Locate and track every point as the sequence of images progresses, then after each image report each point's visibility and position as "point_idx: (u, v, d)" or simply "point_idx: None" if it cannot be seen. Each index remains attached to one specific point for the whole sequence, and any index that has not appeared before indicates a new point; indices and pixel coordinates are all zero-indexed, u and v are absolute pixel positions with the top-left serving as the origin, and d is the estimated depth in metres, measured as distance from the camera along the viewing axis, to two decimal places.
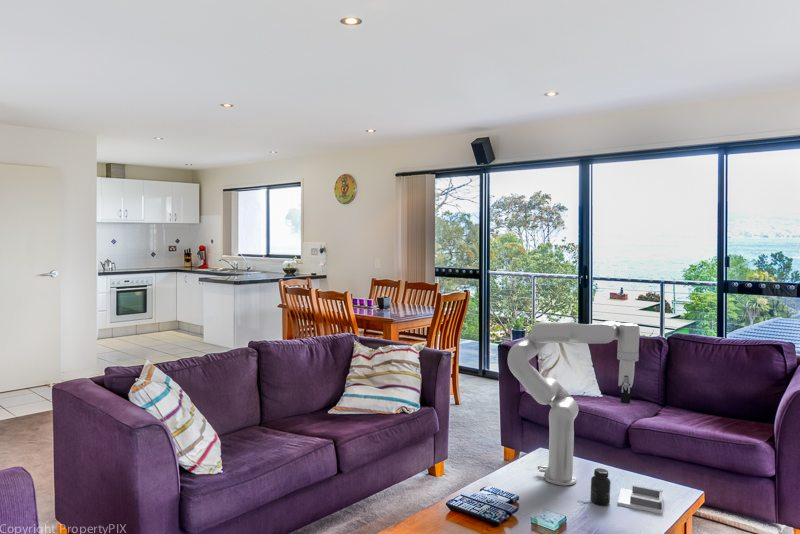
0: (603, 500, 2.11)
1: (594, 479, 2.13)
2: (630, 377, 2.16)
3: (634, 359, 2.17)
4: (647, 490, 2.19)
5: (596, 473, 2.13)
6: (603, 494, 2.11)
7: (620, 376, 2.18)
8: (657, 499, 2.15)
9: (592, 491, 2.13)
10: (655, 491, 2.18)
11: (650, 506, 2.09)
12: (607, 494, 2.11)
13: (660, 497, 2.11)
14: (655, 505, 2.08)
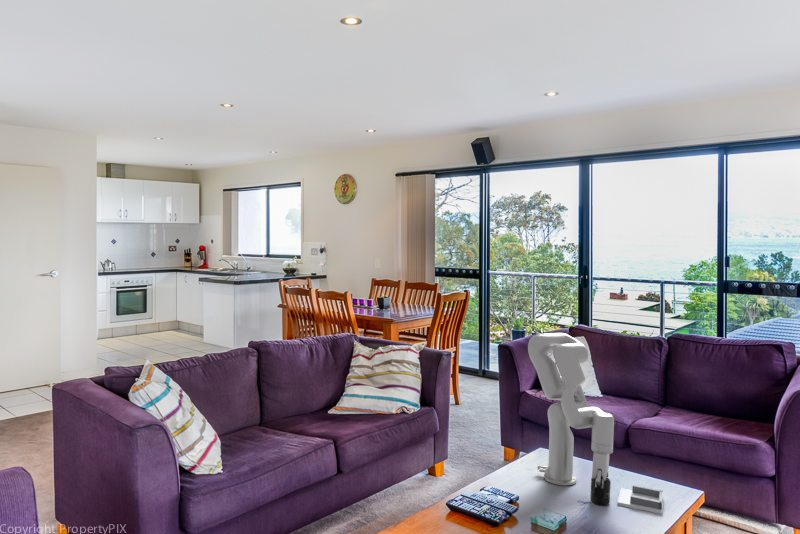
0: (603, 500, 2.11)
1: (594, 479, 2.13)
2: (604, 471, 2.08)
3: (608, 451, 2.10)
4: (647, 490, 2.19)
5: None
6: None
7: (593, 469, 2.10)
8: (657, 499, 2.15)
9: (592, 491, 2.13)
10: (655, 491, 2.18)
11: (650, 506, 2.09)
12: (608, 494, 2.11)
13: (660, 497, 2.11)
14: (655, 505, 2.08)
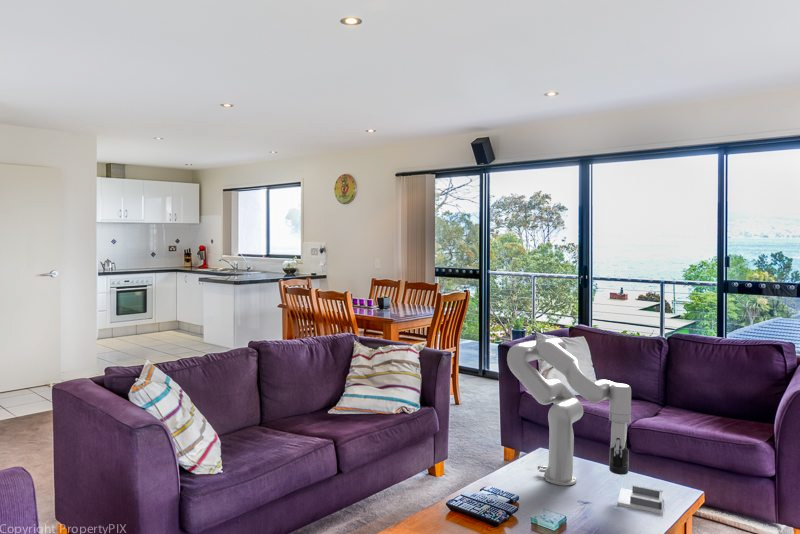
0: (622, 469, 2.15)
1: (613, 449, 2.17)
2: (622, 440, 2.13)
3: (626, 421, 2.14)
4: (647, 490, 2.19)
5: None
6: None
7: (612, 438, 2.15)
8: (657, 499, 2.15)
9: (611, 460, 2.17)
10: (655, 491, 2.18)
11: (650, 506, 2.09)
12: (626, 463, 2.15)
13: (660, 497, 2.11)
14: (655, 505, 2.08)
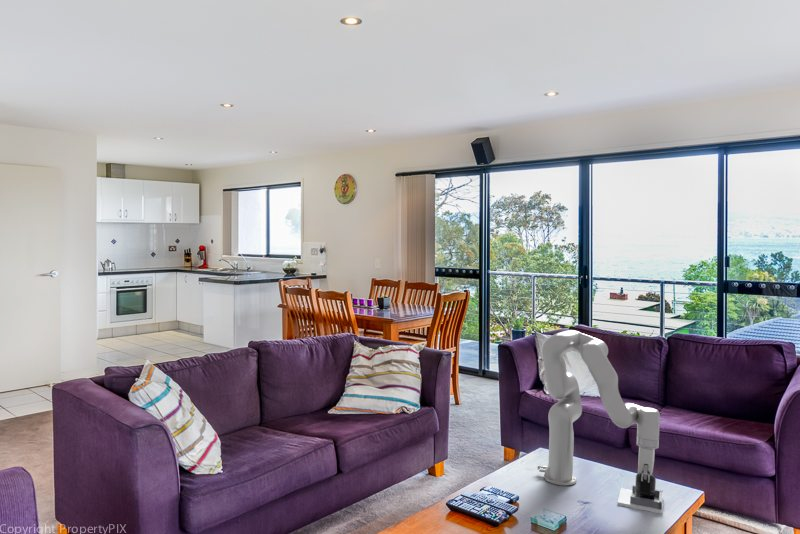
0: (649, 497, 2.12)
1: (639, 476, 2.14)
2: (650, 466, 2.09)
3: (654, 447, 2.10)
4: None
5: None
6: None
7: (640, 464, 2.11)
8: (657, 499, 2.15)
9: (637, 488, 2.14)
10: (655, 491, 2.18)
11: (650, 506, 2.09)
12: (653, 492, 2.12)
13: (660, 497, 2.11)
14: (655, 505, 2.08)
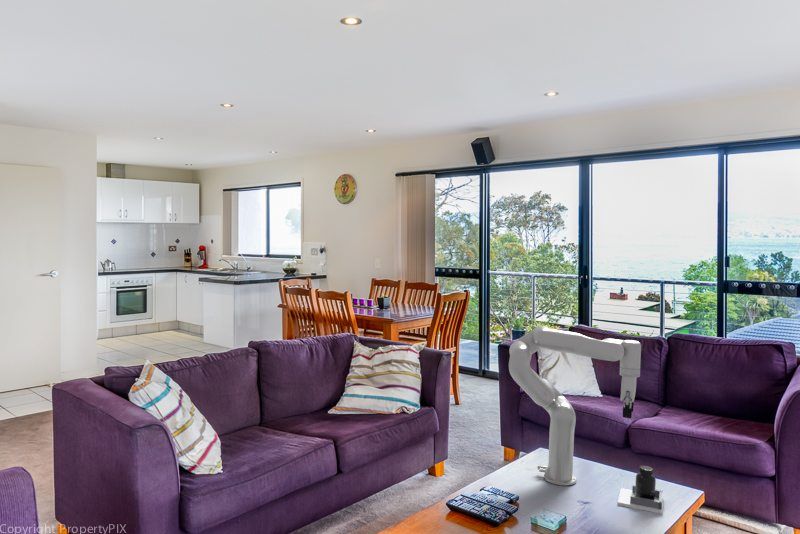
0: (649, 497, 2.12)
1: (639, 476, 2.14)
2: (632, 392, 2.24)
3: (636, 375, 2.25)
4: None
5: (641, 470, 2.14)
6: (648, 491, 2.11)
7: (622, 391, 2.26)
8: (657, 499, 2.15)
9: (637, 488, 2.14)
10: (655, 491, 2.18)
11: (650, 506, 2.09)
12: (653, 492, 2.12)
13: (660, 497, 2.11)
14: (655, 505, 2.08)
